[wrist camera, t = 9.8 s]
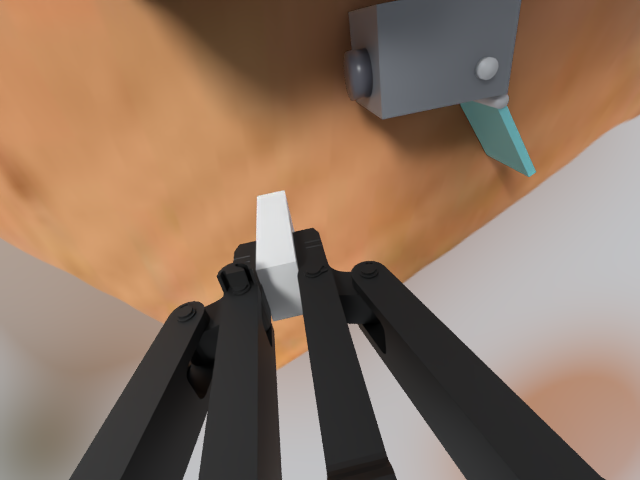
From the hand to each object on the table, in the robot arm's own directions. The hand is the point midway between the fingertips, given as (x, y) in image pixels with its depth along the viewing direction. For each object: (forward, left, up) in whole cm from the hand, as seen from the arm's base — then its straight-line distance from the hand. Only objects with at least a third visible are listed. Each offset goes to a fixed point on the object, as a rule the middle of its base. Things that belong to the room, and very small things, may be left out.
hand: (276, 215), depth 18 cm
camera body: (-4, +19, -29) cm, 35 cm away
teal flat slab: (+7, +29, -29) cm, 42 cm away
